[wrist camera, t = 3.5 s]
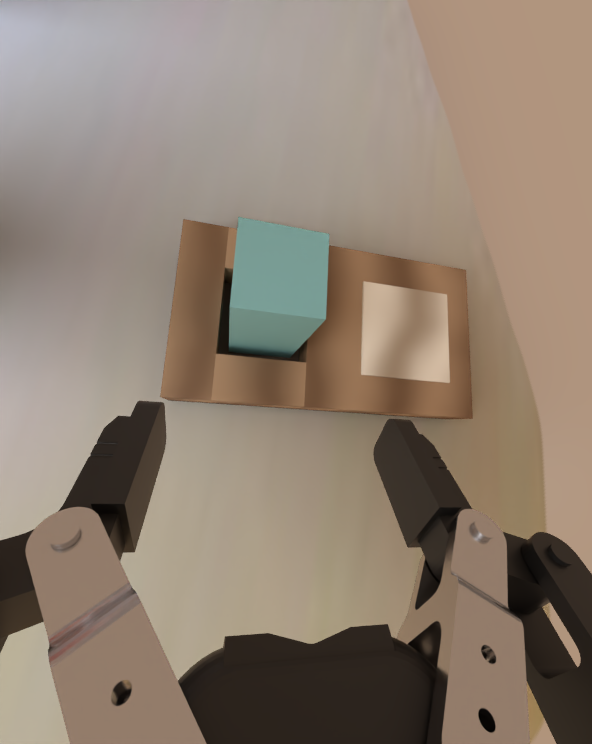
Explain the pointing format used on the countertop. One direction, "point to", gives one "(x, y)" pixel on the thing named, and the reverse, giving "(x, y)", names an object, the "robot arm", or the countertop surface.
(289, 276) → the teal block
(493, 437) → the countertop surface
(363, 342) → the puzzle board
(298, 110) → the countertop surface
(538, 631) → the robot arm
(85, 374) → the countertop surface
